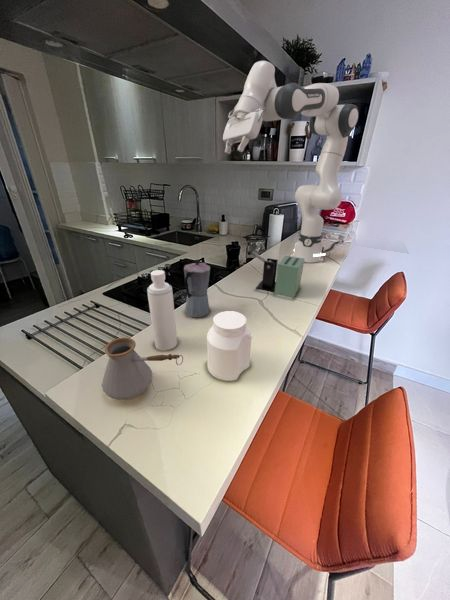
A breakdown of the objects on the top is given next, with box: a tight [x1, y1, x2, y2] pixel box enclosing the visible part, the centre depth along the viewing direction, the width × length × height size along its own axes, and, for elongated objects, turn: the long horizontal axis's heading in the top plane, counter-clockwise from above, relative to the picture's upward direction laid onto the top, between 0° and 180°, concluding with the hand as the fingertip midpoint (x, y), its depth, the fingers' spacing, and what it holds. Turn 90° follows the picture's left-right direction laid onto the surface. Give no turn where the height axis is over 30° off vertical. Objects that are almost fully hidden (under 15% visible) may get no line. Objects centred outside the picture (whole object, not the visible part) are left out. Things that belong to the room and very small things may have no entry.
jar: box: [206, 310, 253, 382], centre depth 67 cm, size 12×10×15 cm
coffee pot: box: [101, 337, 184, 401], centre depth 58 cm, size 21×12×15 cm, turn 69°
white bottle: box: [146, 269, 178, 351], centre depth 72 cm, size 7×7×25 cm
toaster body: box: [274, 255, 305, 299], centre depth 107 cm, size 8×12×14 cm, turn 154°
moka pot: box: [183, 259, 211, 318], centre depth 90 cm, size 10×15×20 cm, turn 164°
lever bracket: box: [255, 257, 279, 294], centre depth 110 cm, size 8×10×13 cm
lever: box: [247, 248, 272, 263], centre depth 109 cm, size 12×5×2 cm, turn 65°
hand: (233, 152), depth 95 cm, fingers open, 8 cm apart
